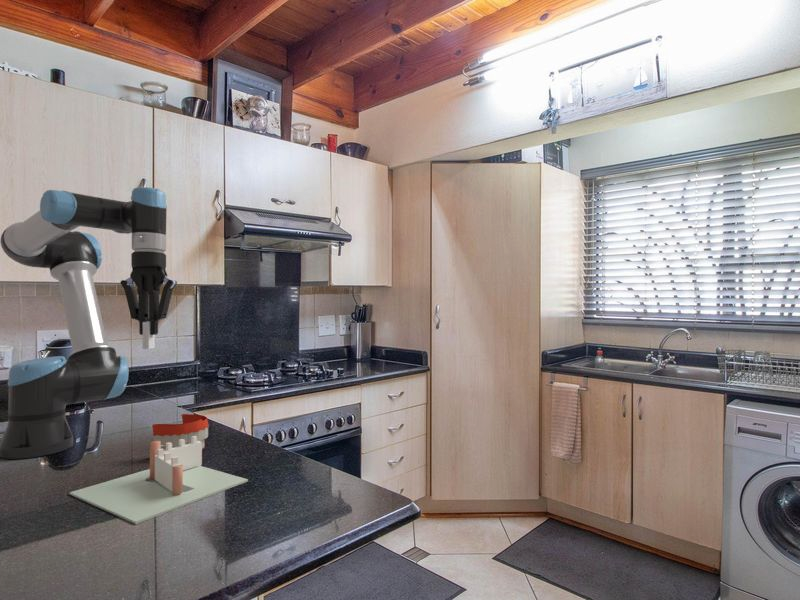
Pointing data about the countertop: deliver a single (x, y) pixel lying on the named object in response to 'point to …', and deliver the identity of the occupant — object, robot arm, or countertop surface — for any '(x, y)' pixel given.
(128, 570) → the countertop surface
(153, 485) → the card
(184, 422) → the toy
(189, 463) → the fixed fence
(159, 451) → the swing panel
